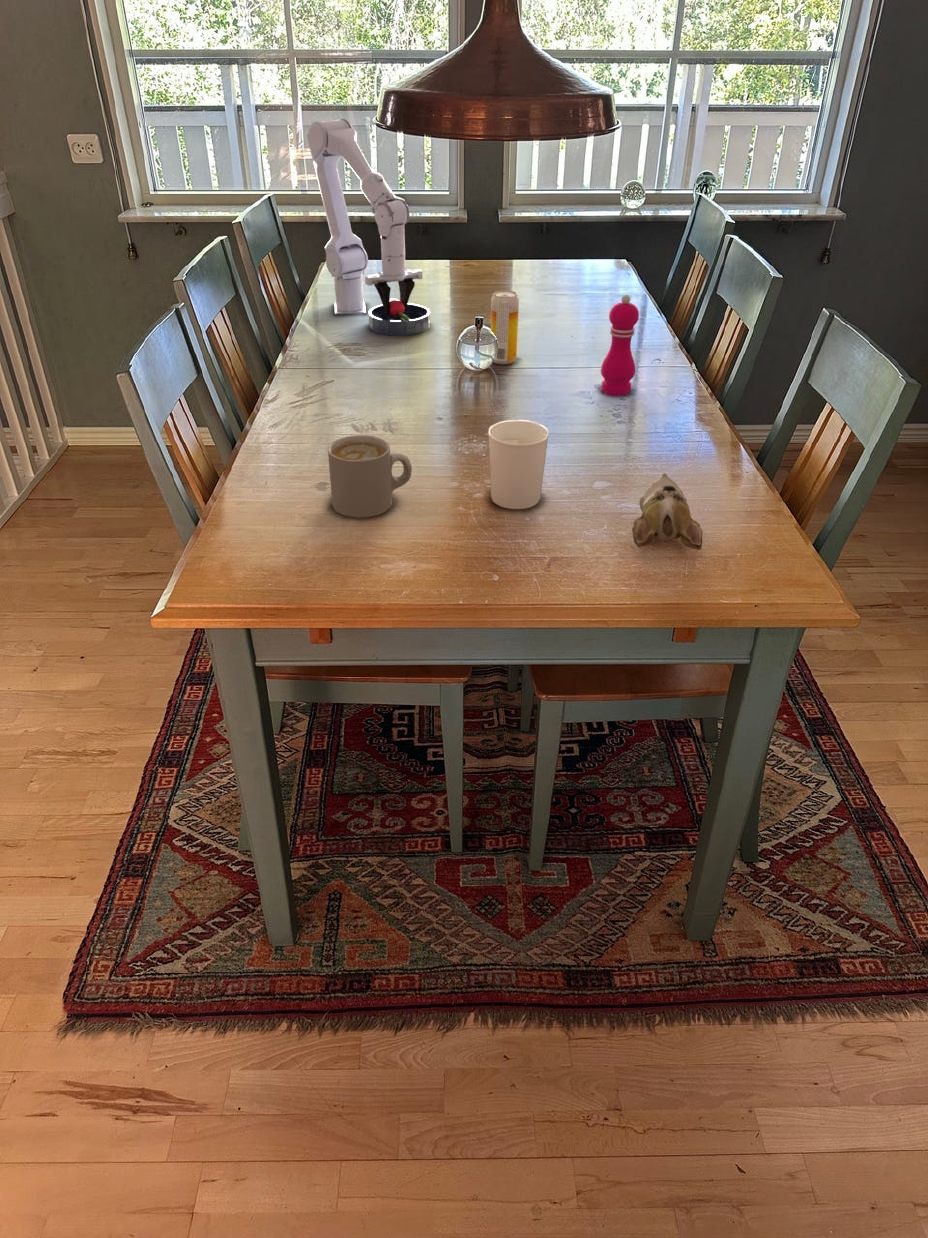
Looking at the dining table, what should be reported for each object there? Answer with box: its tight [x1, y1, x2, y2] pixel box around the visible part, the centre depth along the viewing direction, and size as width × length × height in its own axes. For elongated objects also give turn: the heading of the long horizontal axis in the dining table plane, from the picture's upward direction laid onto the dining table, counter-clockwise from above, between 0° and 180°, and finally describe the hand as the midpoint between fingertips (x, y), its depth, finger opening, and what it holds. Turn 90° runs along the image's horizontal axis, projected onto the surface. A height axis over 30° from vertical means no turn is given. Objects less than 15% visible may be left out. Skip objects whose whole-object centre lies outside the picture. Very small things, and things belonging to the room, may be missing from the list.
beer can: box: [490, 289, 520, 365], centre depth 202 cm, size 6×6×15 cm
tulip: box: [389, 297, 411, 321], centre depth 222 cm, size 11×4×4 cm, turn 27°
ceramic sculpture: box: [631, 473, 703, 551], centre depth 139 cm, size 11×9×15 cm
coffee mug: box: [327, 434, 413, 519], centre depth 146 cm, size 13×10×10 cm
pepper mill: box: [600, 294, 640, 397], centre depth 186 cm, size 7×7×20 cm
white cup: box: [487, 419, 550, 510], centre depth 148 cm, size 10×10×12 cm
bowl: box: [368, 302, 431, 337], centre depth 224 cm, size 15×15×4 cm
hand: (395, 311), depth 225 cm, fingers closed on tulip, 4 cm apart
